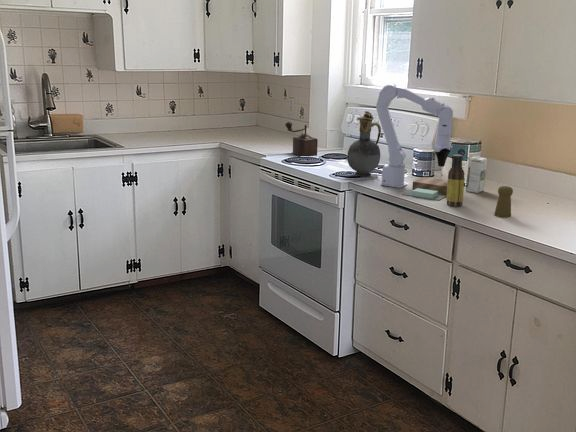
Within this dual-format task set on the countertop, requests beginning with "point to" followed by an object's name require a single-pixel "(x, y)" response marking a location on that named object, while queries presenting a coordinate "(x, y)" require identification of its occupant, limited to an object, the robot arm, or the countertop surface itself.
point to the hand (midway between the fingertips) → (441, 166)
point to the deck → (431, 185)
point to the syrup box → (476, 174)
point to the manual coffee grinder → (303, 143)
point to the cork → (504, 202)
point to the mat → (424, 197)
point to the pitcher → (364, 148)
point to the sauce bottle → (455, 182)
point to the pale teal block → (424, 193)
